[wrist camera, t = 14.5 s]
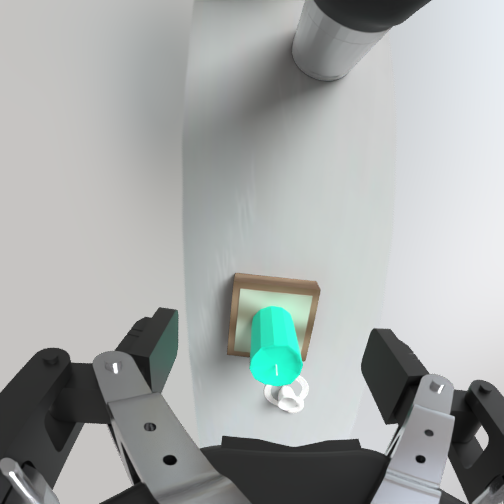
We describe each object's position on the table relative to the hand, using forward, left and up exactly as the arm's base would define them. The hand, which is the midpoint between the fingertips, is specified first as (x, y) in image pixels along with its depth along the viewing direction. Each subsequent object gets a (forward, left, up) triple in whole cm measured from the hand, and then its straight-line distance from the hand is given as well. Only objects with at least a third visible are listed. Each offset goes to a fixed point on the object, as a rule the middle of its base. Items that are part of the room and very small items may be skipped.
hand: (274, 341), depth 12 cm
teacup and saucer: (+32, +6, -33) cm, 46 cm away
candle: (+14, +3, -29) cm, 32 cm away
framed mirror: (+14, +3, -32) cm, 35 cm away
